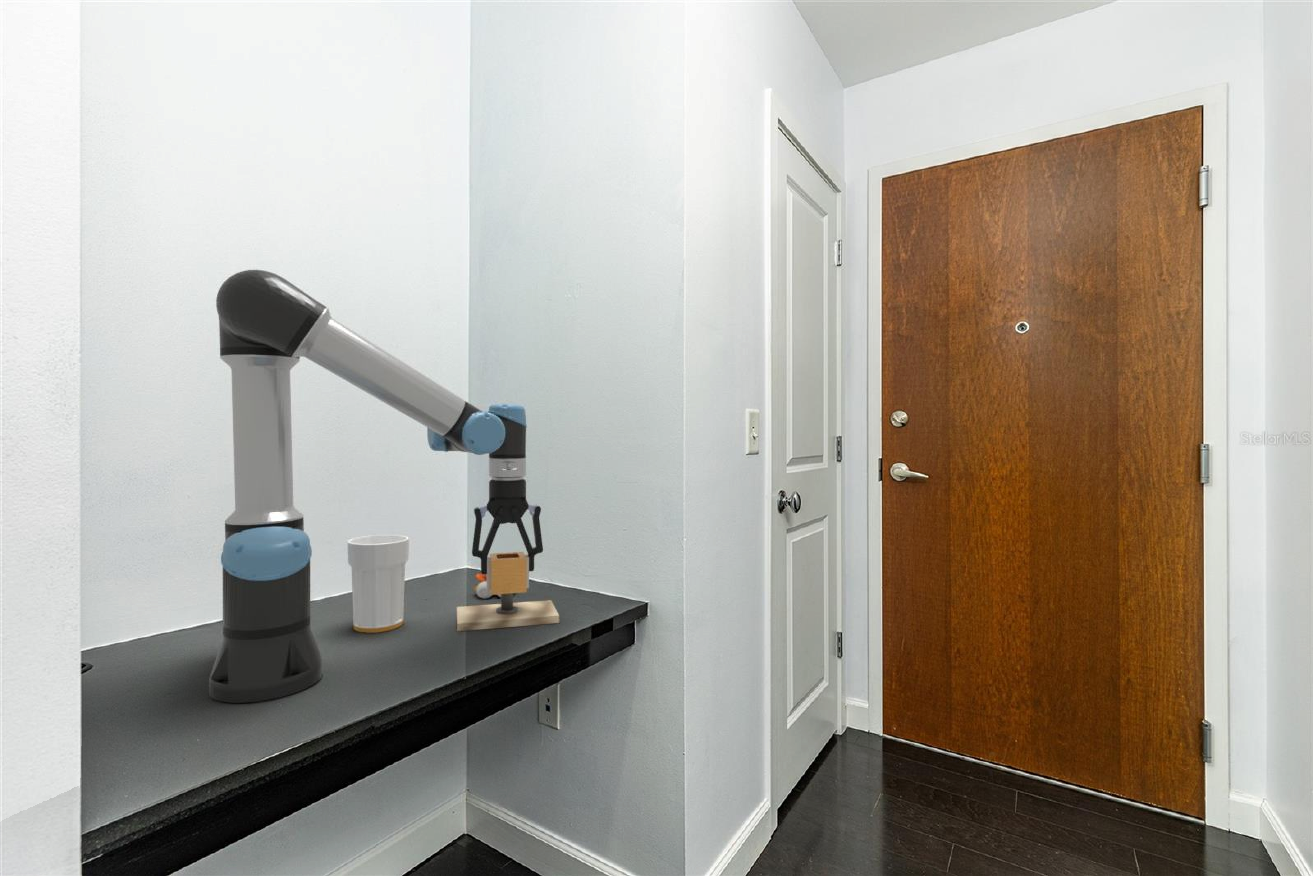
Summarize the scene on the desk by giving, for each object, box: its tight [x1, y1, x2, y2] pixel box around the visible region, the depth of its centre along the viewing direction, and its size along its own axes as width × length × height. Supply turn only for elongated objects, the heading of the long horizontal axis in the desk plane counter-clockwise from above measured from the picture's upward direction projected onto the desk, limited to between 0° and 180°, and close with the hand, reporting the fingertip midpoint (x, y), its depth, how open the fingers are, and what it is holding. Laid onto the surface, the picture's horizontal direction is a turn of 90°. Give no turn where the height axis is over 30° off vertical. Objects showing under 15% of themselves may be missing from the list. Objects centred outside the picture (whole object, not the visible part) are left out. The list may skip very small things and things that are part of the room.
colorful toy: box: [473, 573, 501, 600], centre depth 152 cm, size 8×10×7 cm
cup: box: [347, 534, 410, 634], centre depth 128 cm, size 11×11×17 cm
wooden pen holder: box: [489, 551, 528, 596], centre depth 133 cm, size 7×7×7 cm
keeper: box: [456, 593, 560, 632], centre depth 133 cm, size 20×12×10 cm, turn 107°
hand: (507, 587), depth 133 cm, fingers closed on wooden pen holder, 7 cm apart
